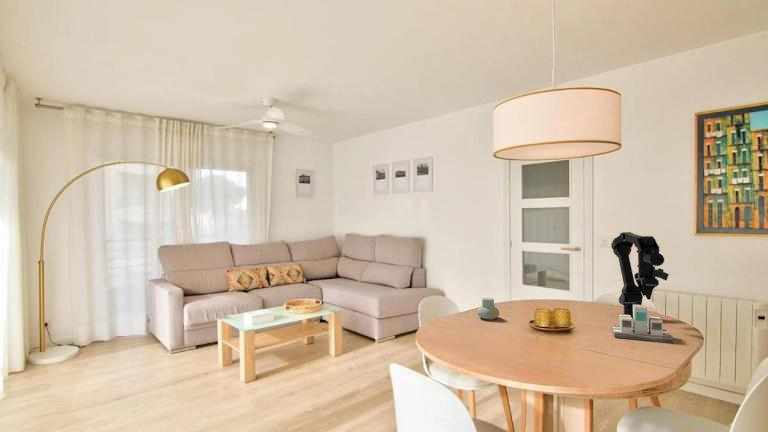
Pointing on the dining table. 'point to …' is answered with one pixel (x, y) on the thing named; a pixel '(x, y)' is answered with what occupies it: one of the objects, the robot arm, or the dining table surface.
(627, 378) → the dining table surface
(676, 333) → the dining table surface
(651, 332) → the rail board
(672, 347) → the dining table surface
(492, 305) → the air freshener
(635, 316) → the block
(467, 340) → the dining table surface
